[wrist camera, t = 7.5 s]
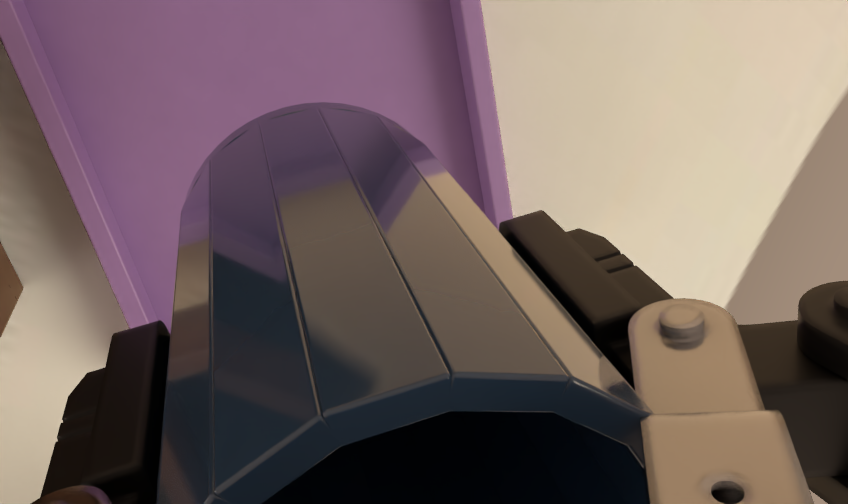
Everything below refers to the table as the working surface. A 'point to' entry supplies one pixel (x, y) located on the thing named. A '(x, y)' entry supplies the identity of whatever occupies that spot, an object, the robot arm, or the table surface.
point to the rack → (7, 289)
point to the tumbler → (373, 337)
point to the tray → (234, 102)
